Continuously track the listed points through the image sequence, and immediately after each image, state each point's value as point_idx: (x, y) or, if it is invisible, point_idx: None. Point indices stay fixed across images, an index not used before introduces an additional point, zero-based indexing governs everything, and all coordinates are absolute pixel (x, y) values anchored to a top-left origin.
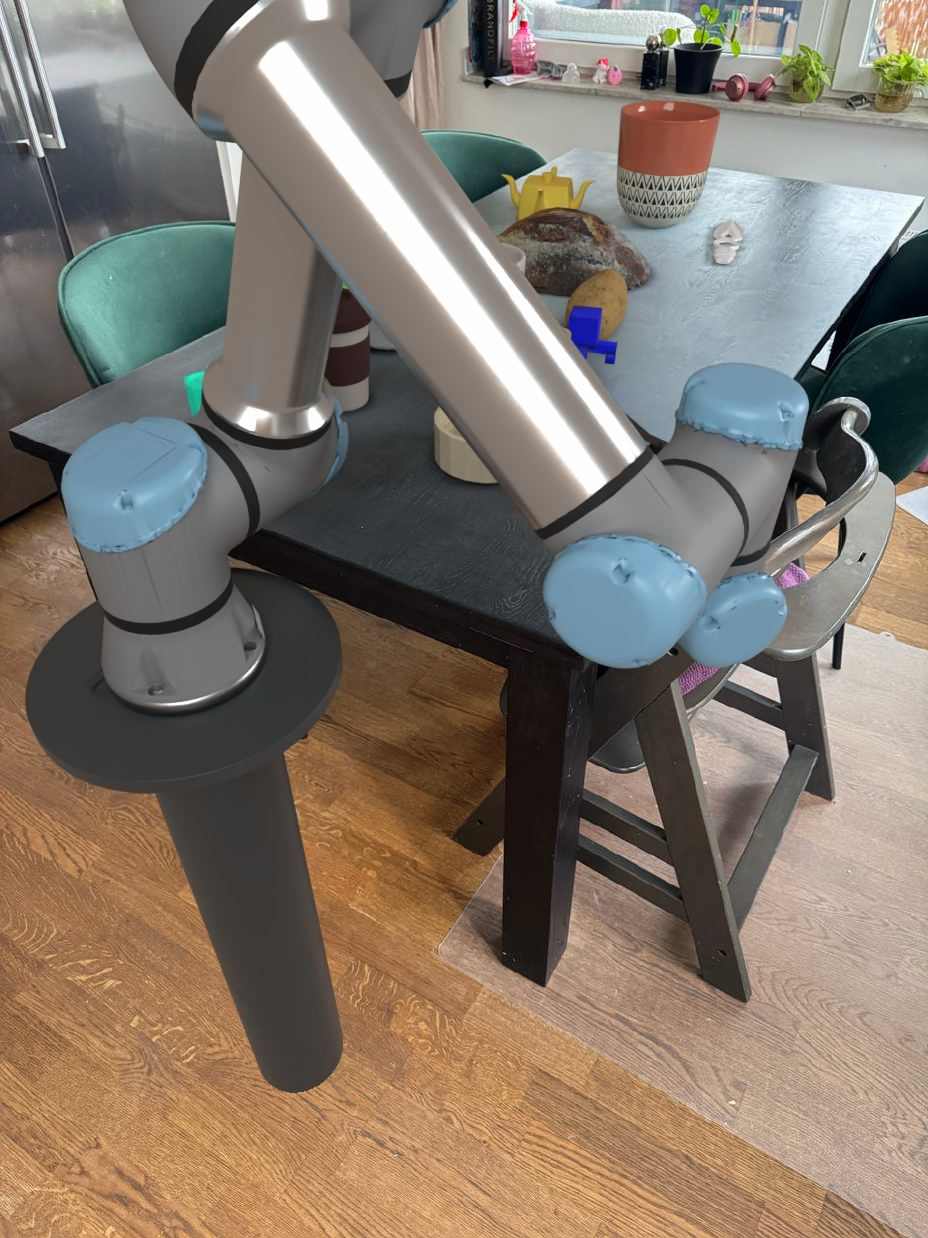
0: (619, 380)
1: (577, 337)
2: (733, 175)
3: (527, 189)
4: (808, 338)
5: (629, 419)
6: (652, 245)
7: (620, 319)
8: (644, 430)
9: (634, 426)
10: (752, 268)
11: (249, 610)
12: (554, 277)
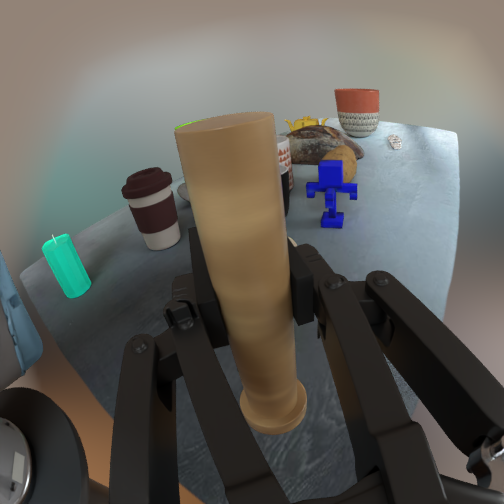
0: (360, 211)
1: (326, 181)
2: (386, 122)
3: (296, 123)
4: (455, 183)
5: (450, 339)
6: (361, 143)
7: (354, 172)
8: (493, 380)
9: (469, 368)
10: (411, 151)
11: (5, 461)
12: (312, 155)
